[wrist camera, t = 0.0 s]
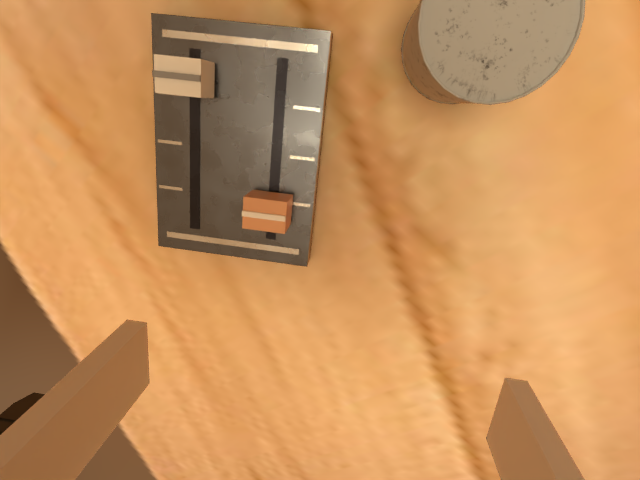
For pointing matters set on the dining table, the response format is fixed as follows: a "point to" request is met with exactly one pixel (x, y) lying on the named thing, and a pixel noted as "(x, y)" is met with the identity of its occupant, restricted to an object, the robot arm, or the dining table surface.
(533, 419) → the robot arm
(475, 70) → the grey speckled cylinder
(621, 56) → the dining table surface
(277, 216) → the fader terracotta
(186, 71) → the fader ivory
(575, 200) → the dining table surface
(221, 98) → the console
